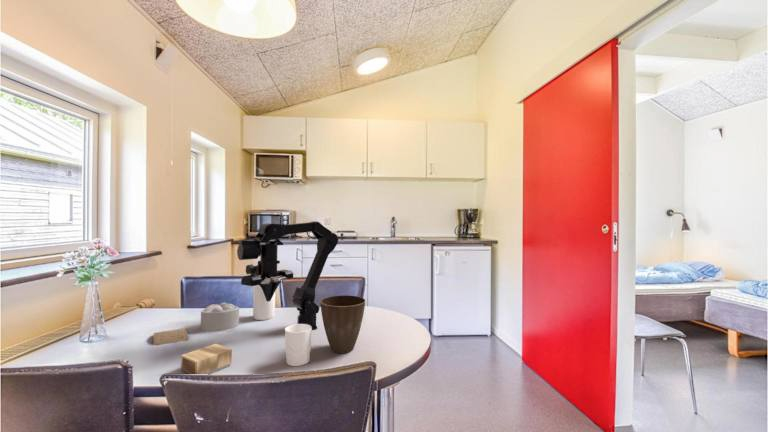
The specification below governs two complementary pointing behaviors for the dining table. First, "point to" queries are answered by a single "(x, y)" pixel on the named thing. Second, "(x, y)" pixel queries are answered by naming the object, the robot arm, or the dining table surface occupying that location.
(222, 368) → the felt mat
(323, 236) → the robot arm
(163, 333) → the clay tablet
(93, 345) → the dining table surface
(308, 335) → the white cup
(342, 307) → the plant pot
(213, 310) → the lumpy-topped squat cylinder
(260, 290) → the alcohol
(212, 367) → the oak block
